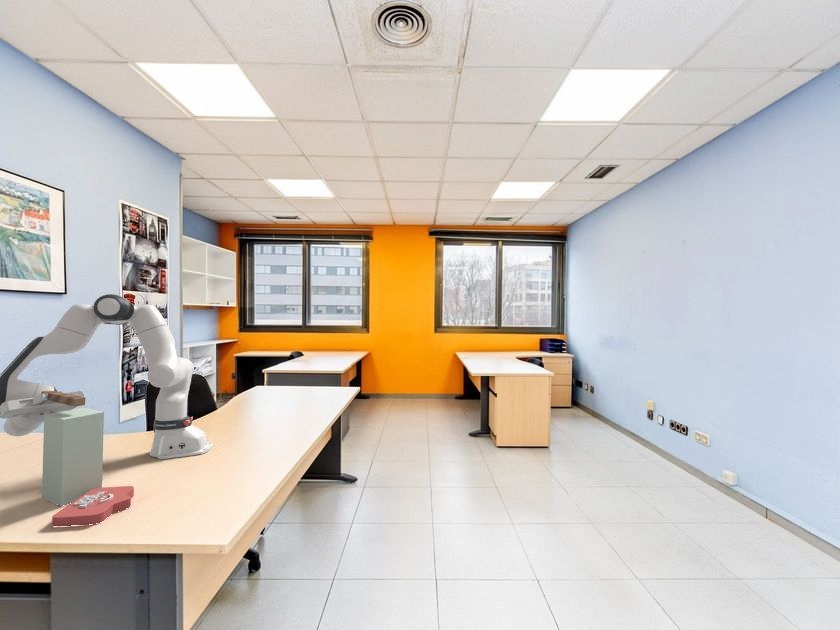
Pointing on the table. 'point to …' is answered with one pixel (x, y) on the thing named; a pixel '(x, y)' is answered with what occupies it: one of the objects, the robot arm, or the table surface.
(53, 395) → the rod
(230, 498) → the table surface
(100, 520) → the plaque
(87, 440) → the pedestal
